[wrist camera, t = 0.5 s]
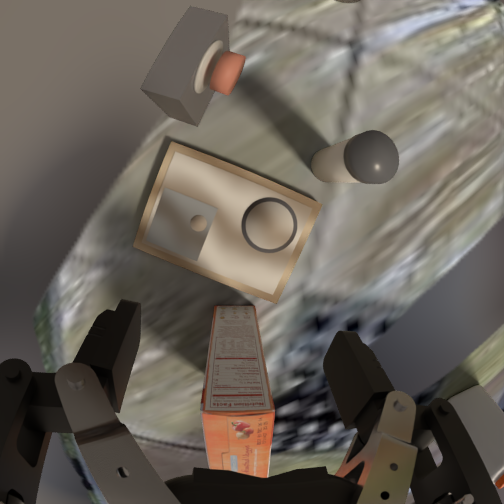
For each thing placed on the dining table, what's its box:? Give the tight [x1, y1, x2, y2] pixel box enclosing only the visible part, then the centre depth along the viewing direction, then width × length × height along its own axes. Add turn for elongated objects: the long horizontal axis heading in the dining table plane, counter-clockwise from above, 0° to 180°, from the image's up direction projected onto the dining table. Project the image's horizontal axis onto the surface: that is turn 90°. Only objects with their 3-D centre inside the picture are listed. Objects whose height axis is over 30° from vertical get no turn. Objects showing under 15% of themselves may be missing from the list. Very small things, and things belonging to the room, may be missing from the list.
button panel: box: [141, 6, 230, 127], centre depth 26 cm, size 10×4×12 cm, turn 157°
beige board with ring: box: [133, 141, 322, 304], centre depth 35 cm, size 14×20×2 cm
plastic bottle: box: [434, 385, 504, 489], centre depth 35 cm, size 15×15×28 cm
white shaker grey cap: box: [311, 130, 399, 184], centre depth 28 cm, size 5×5×14 cm
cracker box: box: [200, 306, 275, 478], centre depth 30 cm, size 14×6×21 cm, turn 179°
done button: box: [210, 51, 246, 95], centre depth 24 cm, size 4×2×4 cm, turn 157°
